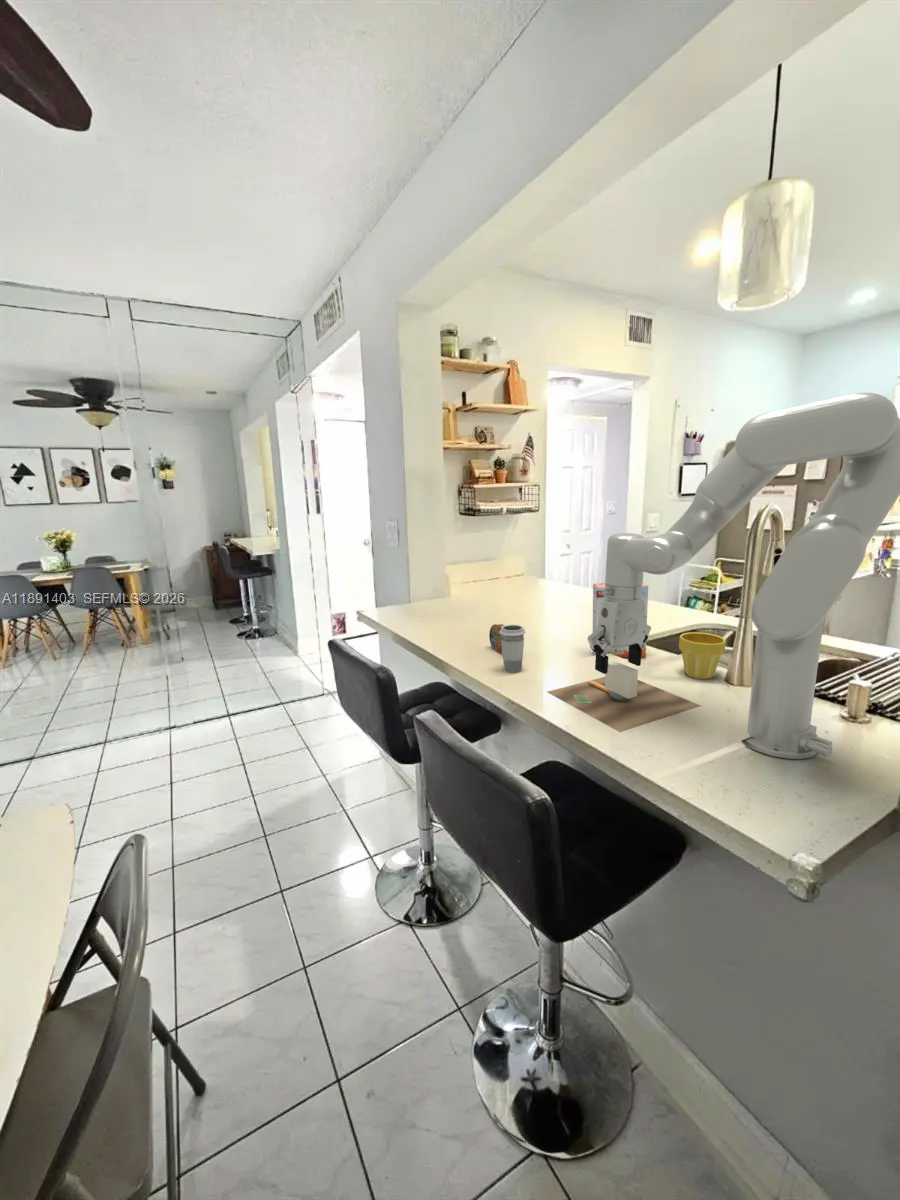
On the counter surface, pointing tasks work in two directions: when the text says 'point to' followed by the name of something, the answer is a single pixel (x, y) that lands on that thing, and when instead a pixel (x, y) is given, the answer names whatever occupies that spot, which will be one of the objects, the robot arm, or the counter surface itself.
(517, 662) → the cup
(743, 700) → the counter surface
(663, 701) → the dial board
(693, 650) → the plant pot
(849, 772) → the counter surface
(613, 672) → the knob
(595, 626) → the cracker box
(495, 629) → the tin
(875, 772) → the counter surface
